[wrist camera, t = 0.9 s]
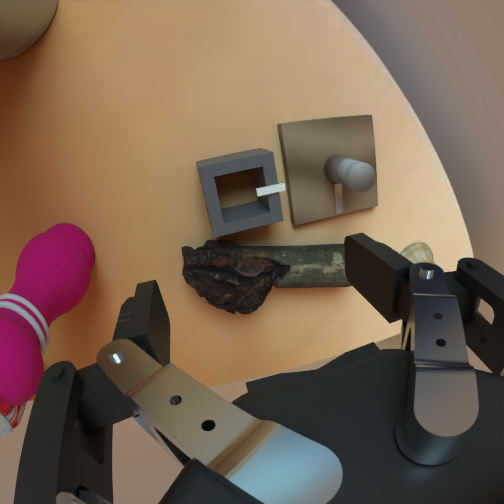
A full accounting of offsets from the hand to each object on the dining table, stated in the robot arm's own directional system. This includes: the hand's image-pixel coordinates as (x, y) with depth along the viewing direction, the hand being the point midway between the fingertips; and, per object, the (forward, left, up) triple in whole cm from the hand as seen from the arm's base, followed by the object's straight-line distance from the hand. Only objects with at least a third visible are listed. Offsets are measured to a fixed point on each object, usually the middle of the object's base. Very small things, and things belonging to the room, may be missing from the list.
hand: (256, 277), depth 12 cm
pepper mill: (+2, -16, -17) cm, 24 cm away
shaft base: (0, +12, -17) cm, 21 cm away
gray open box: (0, +2, -17) cm, 17 cm away
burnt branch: (+9, +4, -18) cm, 20 cm away
